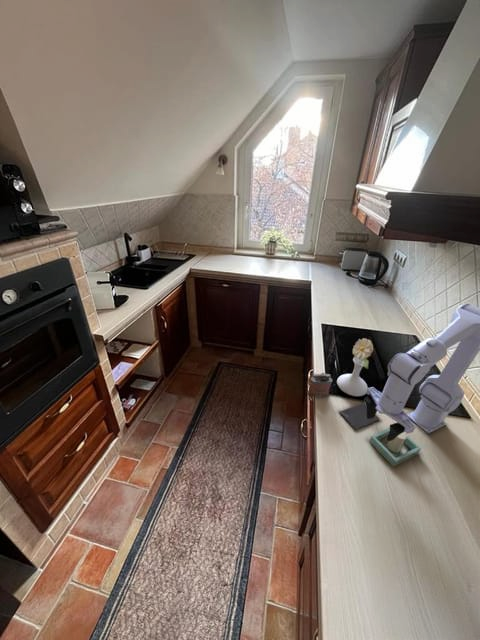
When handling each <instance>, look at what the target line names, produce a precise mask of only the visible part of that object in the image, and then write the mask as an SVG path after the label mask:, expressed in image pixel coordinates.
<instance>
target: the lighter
mask: <svg viewBox="0 0 480 640" xmlns="http://www.w3.org/2000/svg"><path fill="white" fill-rule="evenodd" d="M332 383H333V379H332V377H331V374H329V373H325V372H321V373H313V375H312V376H311V377H310V382H309V387H308V390H307V396H309V397H311V398H326V397H328V396H329V392H330V388H331V385H332Z"/></svg>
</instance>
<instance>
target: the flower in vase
mask: <svg viewBox="0 0 480 640" xmlns="http://www.w3.org/2000/svg"><path fill="white" fill-rule="evenodd" d="M373 346H374V345H373V342H372V341H371V340H370V339H368V338H365V337H363V338H362V339H358V340H357V341H356V342H355V345H353V348H352V355H353V358H352V361H353V363H354V367H353V371H352V373H344V374H341V375H340V376H338V378H337V380H336V384H337V386H338V389H340V390H341V391H342V392H343V393H345V394H347V395H349V396H352V397H363V396H365V395H366V394H367V393H366V392H367V389H368V388H369V387H368V384H367V383H366V381H365V380H364V379H363V378H361V376H360V374H361V371H362V369H363V367H364V368H365V369H367V370H368V369H369V362H370V361H369V359H368V358H369V357H371V356H372V353H373V351H374V347H373Z"/></svg>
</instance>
